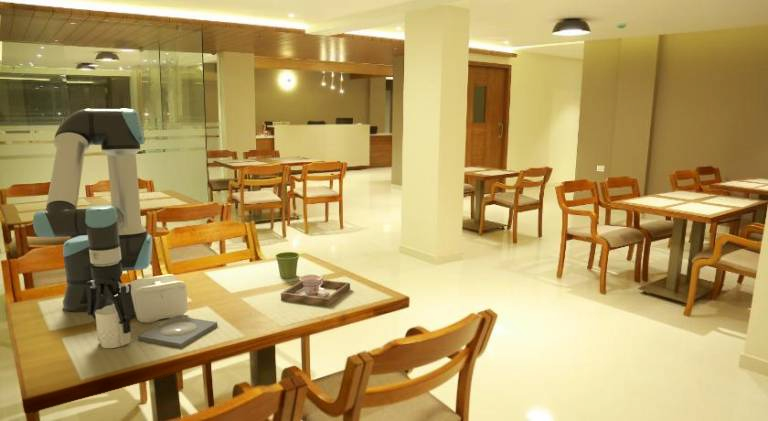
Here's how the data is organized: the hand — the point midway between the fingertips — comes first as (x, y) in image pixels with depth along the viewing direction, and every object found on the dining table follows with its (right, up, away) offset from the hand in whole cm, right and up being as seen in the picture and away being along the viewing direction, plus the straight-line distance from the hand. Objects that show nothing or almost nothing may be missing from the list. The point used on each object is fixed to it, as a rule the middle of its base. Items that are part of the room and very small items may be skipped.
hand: (114, 341), depth 150 cm
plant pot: (+38, +11, +60) cm, 72 cm away
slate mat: (+15, +1, +7) cm, 17 cm away
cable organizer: (+4, +3, +21) cm, 21 cm away
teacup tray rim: (+52, +7, +39) cm, 65 cm away
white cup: (0, -1, 0) cm, 1 cm away
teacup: (+50, +7, +40) cm, 64 cm away
